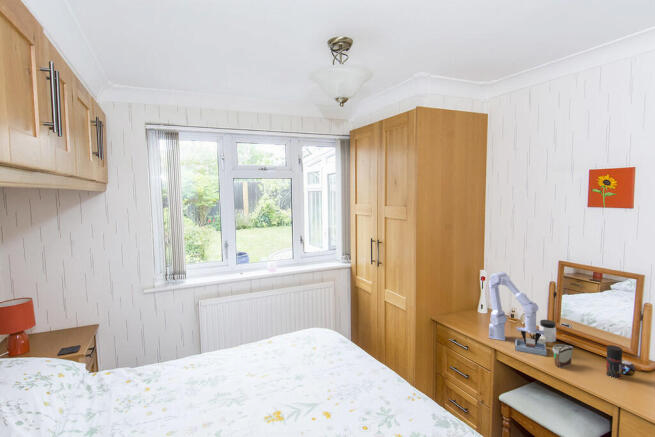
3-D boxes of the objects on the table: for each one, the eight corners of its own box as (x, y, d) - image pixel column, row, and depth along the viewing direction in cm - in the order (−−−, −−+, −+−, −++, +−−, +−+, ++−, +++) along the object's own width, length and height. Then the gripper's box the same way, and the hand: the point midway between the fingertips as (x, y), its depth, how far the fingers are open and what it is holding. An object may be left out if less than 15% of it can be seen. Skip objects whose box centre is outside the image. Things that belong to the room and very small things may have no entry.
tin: (525, 348, 203) (525, 341, 203) (525, 344, 208) (525, 337, 207) (535, 349, 201) (535, 342, 201) (534, 346, 205) (534, 339, 205)
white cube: (536, 345, 210) (537, 338, 209) (536, 342, 214) (536, 335, 213) (545, 346, 207) (545, 339, 207) (544, 343, 211) (545, 336, 211)
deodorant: (619, 379, 169) (620, 351, 168) (604, 375, 174) (605, 347, 173) (622, 375, 173) (623, 348, 171) (608, 371, 177) (609, 344, 176)
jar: (549, 343, 210) (550, 325, 210) (537, 338, 218) (537, 321, 217) (558, 340, 214) (558, 322, 214) (545, 335, 222) (545, 318, 221)
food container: (561, 358, 192) (562, 342, 191) (572, 363, 186) (573, 346, 185) (546, 363, 187) (547, 346, 187) (557, 368, 182) (558, 351, 181)
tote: (515, 350, 203) (515, 345, 203) (515, 343, 213) (515, 338, 213) (546, 356, 195) (546, 351, 195) (545, 348, 205) (545, 343, 204)
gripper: (516, 323, 203) (516, 344, 204) (545, 327, 196) (544, 349, 197) (517, 319, 209) (516, 339, 210) (544, 322, 202) (544, 344, 203)
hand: (530, 344), depth 204 cm, fingers closed on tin, 5 cm apart
